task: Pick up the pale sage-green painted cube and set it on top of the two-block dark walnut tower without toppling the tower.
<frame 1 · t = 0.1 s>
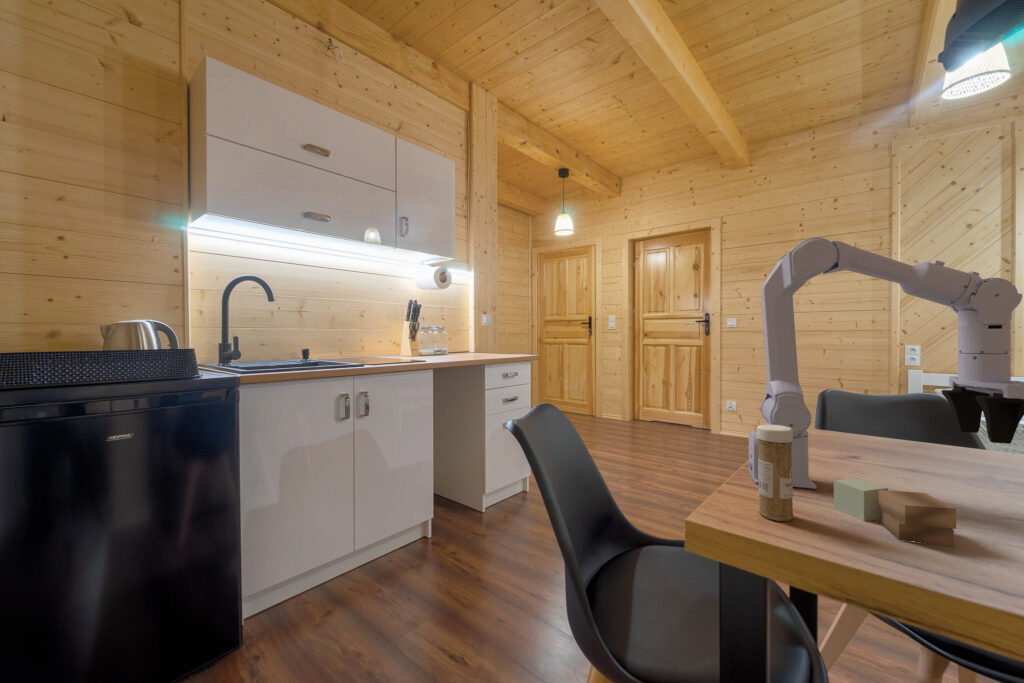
hand: (983, 437, 68), 10 cm above the table, tool pointing down, fingers open, 7 cm apart
tower bottom: (914, 537, 57), on the table, touching tower top
tower top: (915, 518, 57), point 2 cm above the table, touching tower bottom
sprinkles bottle: (775, 517, 63), on the table
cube: (860, 513, 64), on the table
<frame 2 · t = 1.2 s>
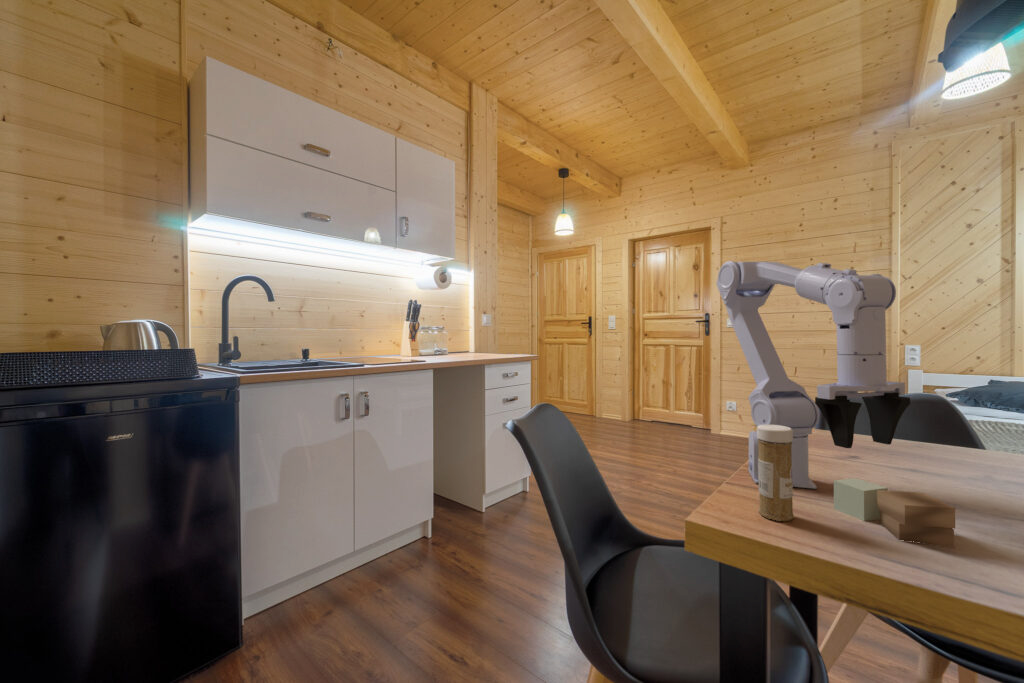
hand: (862, 444, 63), 10 cm above the table, tool pointing down, fingers open, 7 cm apart
nothing on the table moved.
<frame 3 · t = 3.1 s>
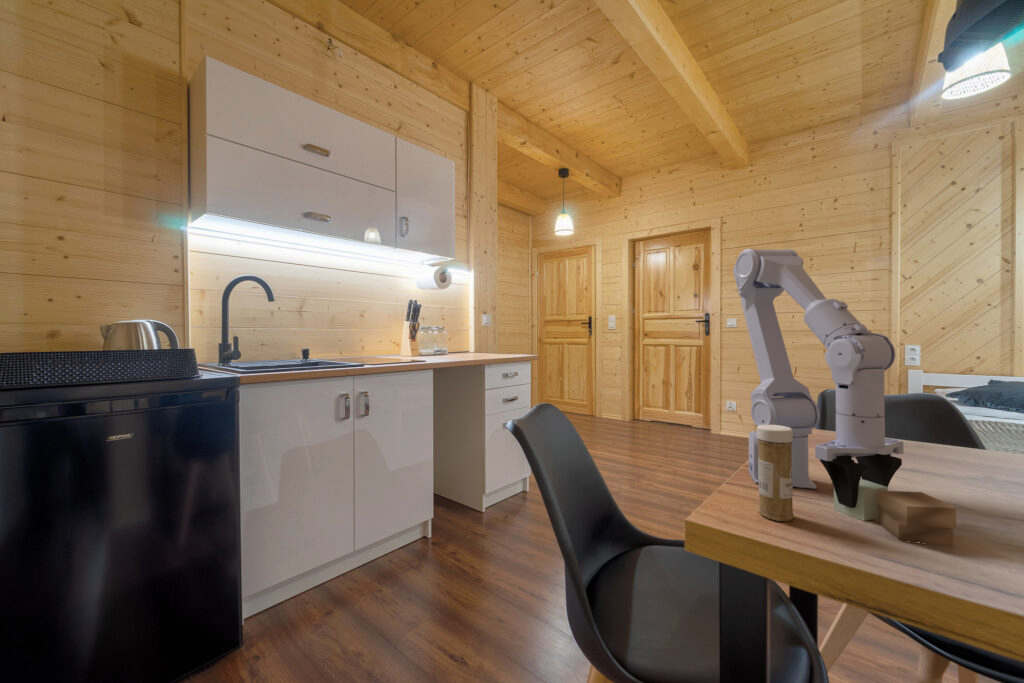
hand: (860, 503, 64), 1 cm above the table, tool pointing down, fingers closed on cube, 4 cm apart
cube: (860, 513, 64), on the table, touching gripper
everything else where it was.
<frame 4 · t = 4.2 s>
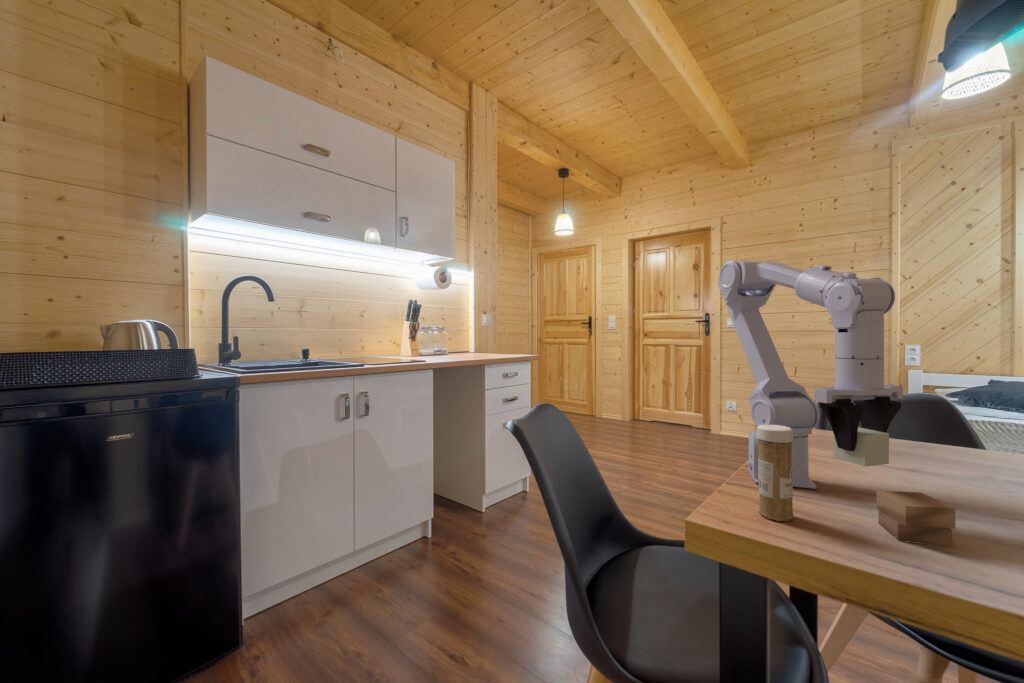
hand: (859, 448, 64), 10 cm above the table, tool pointing down, fingers closed on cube, 4 cm apart
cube: (860, 460, 64), point 8 cm above the table, touching gripper
everything else where it was.
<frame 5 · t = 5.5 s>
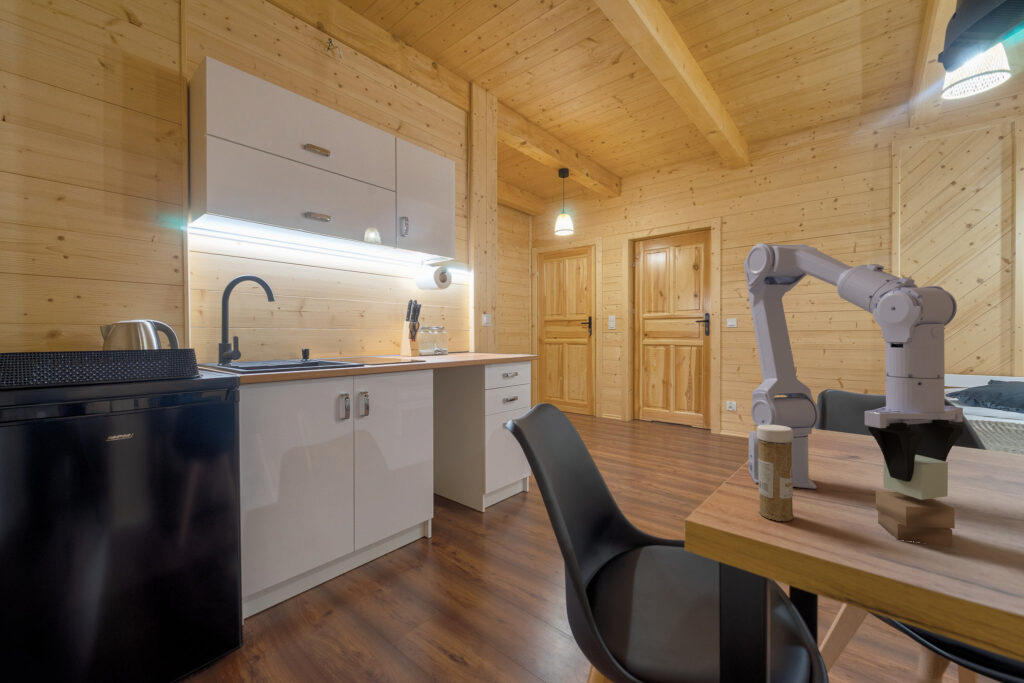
hand: (914, 477, 57), 8 cm above the table, tool pointing down, fingers closed on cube, 4 cm apart
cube: (914, 491, 57), point 6 cm above the table, touching gripper
everything else where it was.
when the fingers open (8 cm above the table, at t = 6.3 s): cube stays where it is, resting on tower top.
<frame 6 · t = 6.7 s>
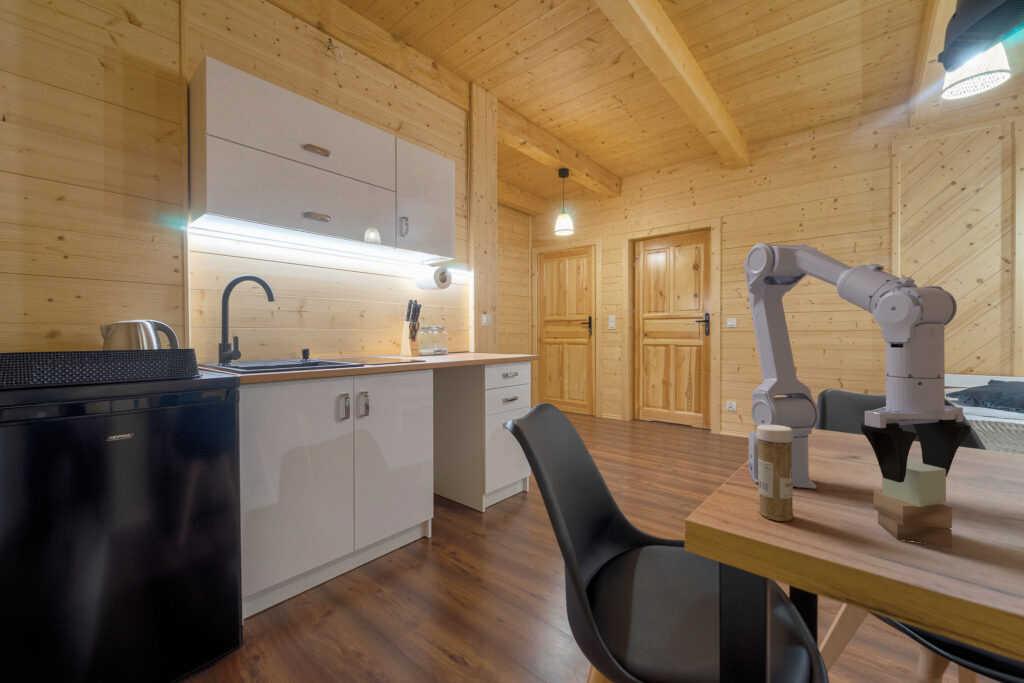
hand: (914, 477, 57), 8 cm above the table, tool pointing down, fingers open, 7 cm apart
tower top: (910, 517, 57), point 2 cm above the table, touching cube, tower bottom
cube: (913, 498, 57), point 5 cm above the table, touching tower top
everything else where it was.
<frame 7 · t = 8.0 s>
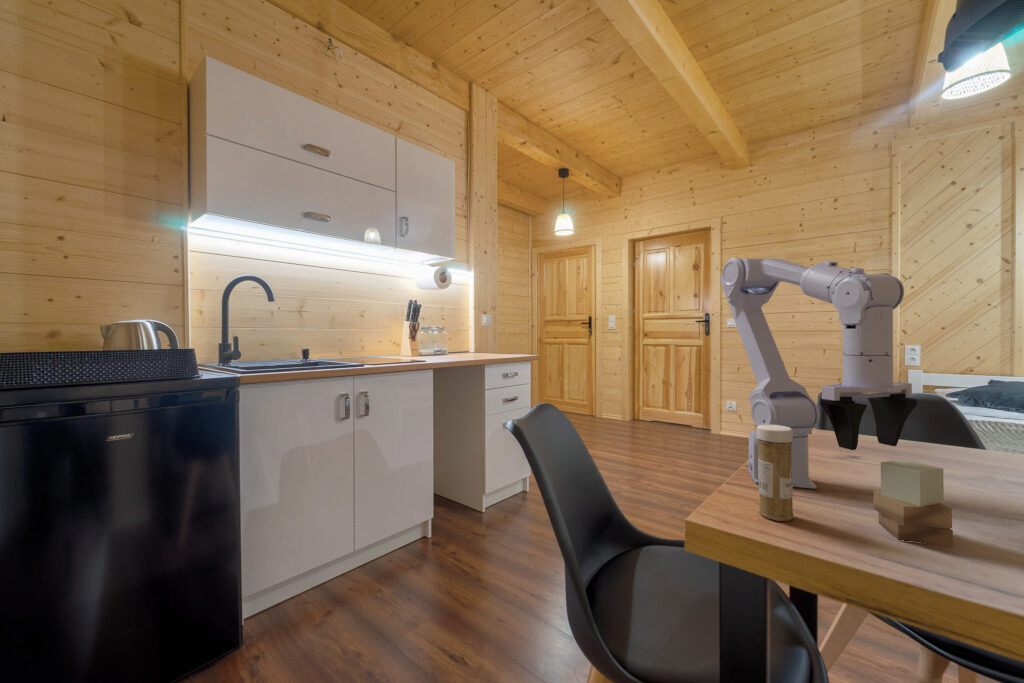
hand: (867, 446, 63), 10 cm above the table, tool pointing down, fingers open, 7 cm apart
tower top: (910, 518, 57), point 2 cm above the table, touching tower bottom
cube: (911, 498, 57), point 5 cm above the table
everything else where it was.
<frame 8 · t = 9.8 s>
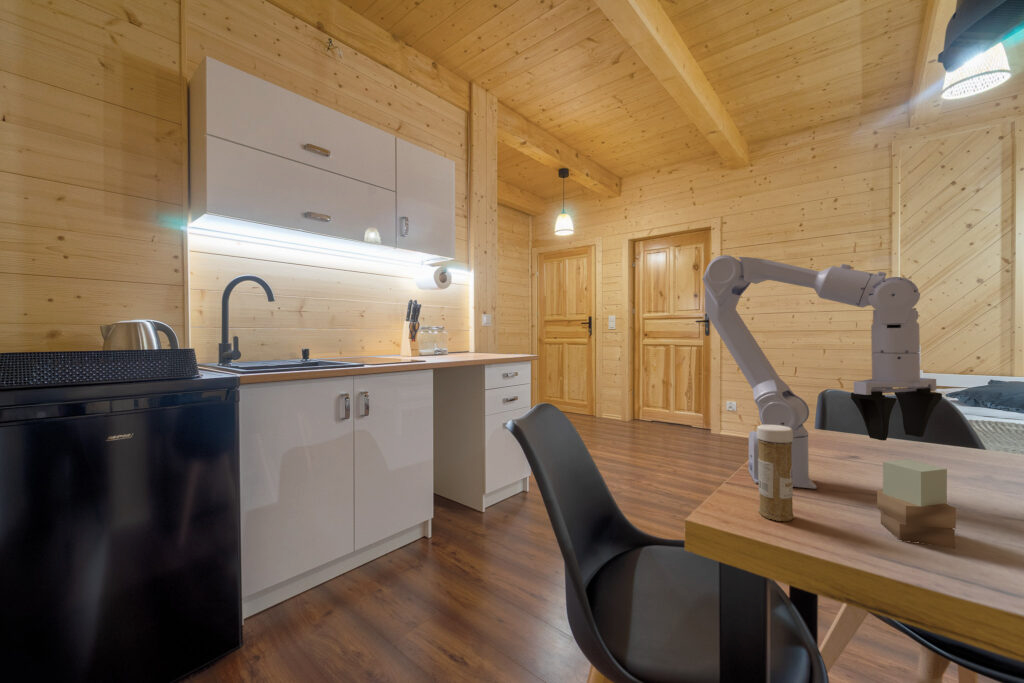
hand: (896, 437, 68), 10 cm above the table, tool pointing down, fingers open, 7 cm apart
tower top: (914, 518, 57), point 2 cm above the table, touching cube, tower bottom
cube: (913, 498, 57), point 5 cm above the table, touching tower top
everything else where it was.
at the end: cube 0.2 cm off-centre on the tower bottom, point 5.2 cm above the tower bottom's base; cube tilted 1°; tower top moved 0.5 cm from its start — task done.
